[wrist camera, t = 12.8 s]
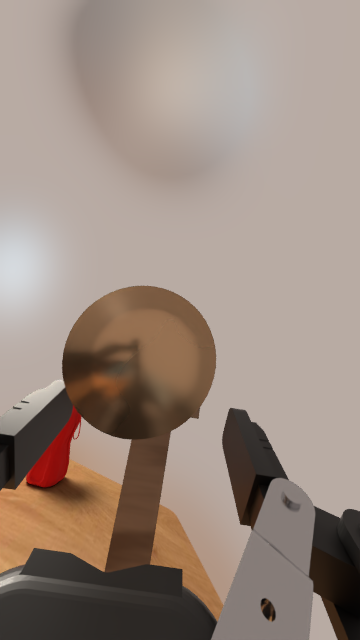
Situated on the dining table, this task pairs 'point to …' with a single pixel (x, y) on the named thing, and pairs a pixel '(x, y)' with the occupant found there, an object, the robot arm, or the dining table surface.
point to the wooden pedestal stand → (139, 503)
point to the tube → (139, 362)
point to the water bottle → (55, 456)
